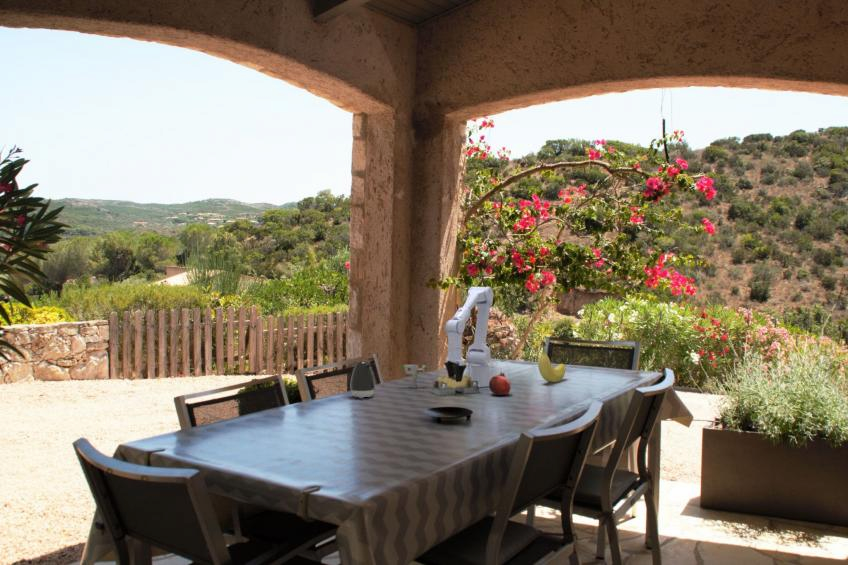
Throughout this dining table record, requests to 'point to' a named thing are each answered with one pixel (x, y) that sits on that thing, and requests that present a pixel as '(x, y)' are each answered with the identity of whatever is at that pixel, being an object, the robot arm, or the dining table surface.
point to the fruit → (499, 384)
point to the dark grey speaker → (362, 380)
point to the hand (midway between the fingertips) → (455, 380)
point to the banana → (550, 368)
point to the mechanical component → (413, 372)
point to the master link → (452, 381)
